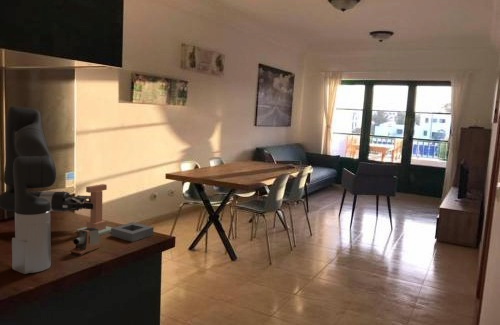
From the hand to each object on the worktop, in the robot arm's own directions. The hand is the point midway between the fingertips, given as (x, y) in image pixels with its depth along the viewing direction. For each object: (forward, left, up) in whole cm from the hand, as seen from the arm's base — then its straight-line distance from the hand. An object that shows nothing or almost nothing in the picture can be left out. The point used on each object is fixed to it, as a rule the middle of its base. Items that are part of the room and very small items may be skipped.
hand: (97, 203), depth 158 cm
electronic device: (-17, -14, -11) cm, 25 cm away
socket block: (+5, -14, -11) cm, 18 cm away
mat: (0, 0, -11) cm, 11 cm away
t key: (0, 0, -10) cm, 10 cm away
